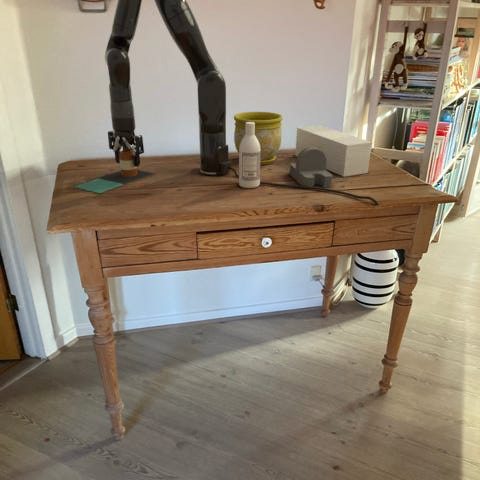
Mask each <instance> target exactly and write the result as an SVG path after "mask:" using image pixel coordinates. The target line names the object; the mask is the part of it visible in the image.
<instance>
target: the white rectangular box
mask: <svg viewBox="0 0 480 480" xmlns="http://www.w3.org/2000/svg"><path fill="white" fill-rule="evenodd" d="M295 136H296V138H295V152H294V153H295V154H294V156H295V157H297V156H298V154H299V153H300V152H301V151H302V150H303V149H305V148H307V147H315V148H317V149H319V150H320V151H322V152H323V153H324V155H325V157H326V171H328V172H329V171H330V172H331V173H335V174H337V175H339V176H341V177H343V178H344V177H351V176H356V175H365V174H368V173H369V167H370V166H369V165H370V159H371V151H372V144H373V142H372V141H369V140H366V139H363V138H360V137H358V136H355V135H351V134H348V133H345V132H343V131H339V130H336V129H333V128H330V127H327V126H323V125H320V124H318V125H307V126H298V127H296V135H295Z"/></svg>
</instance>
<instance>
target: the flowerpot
mask: <svg viewBox="0 0 480 480" xmlns="http://www.w3.org/2000/svg"><path fill="white" fill-rule="evenodd" d="M283 118H284V117H283V115H282V114H281V113H276V112H271V111H245V112H238V113H236V114H235V115H233V120H234V122H235V123H234V134H233V141H234V147H235V150H236V151H237V153H238V154H239V147H240V143H241V141H242V139H243V138H244V136H245V124H246V122H254V123H255V136H256V138H257V140H258V142H259V144H260V150H261V153H260V166H265V165H269V164H270V165H271V164H272V163H274V161H275V160H276V158H277V156H276V155H277V154H278V152H279V150H280V148H281V144H282V121H283Z"/></svg>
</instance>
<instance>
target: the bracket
mask: <svg viewBox="0 0 480 480" xmlns="http://www.w3.org/2000/svg"><path fill="white" fill-rule="evenodd" d="M289 175H290V176H291V178H293V179H294V180H295V181H296V182H297V183H298V184H300V186H310V187H315V185H320V186H322V188H331V187H332V186H333V177H334V176H333V174H332V173H331V172H329V170H327V169H326V157H325V155H324V153H323V152H322V151H320V150H319V149H317V148H315V147H307V148H305V149H303V150H302V151H301V152H300V153H299V154H298V156H296V160H295V162H290V164H289Z"/></svg>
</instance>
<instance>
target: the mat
mask: <svg viewBox="0 0 480 480" xmlns="http://www.w3.org/2000/svg"><path fill="white" fill-rule="evenodd" d="M151 175H154V173H153V172H148V171H143V170H138V169H137V175H136V176H133V177H123V176H122V175H121V170H120V171H116V172H113V173H110V174H107V175H104V176H101V177H98V178H94V179H92V180H89V181H86V182H83V183H79V184H77V185H73V188H74V189H79V190H83V191H87V192H91V193H95V194H98V195H100V194H101V193H104V192H106V191H109V190H112V189H115V188H118V187H121V186H123V185H127V184H130V183H133V182H135V181H138V180H141V179H143V178H146V177H148V176H151Z"/></svg>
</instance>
